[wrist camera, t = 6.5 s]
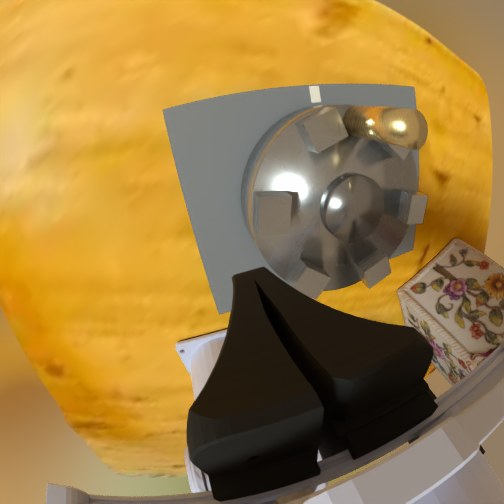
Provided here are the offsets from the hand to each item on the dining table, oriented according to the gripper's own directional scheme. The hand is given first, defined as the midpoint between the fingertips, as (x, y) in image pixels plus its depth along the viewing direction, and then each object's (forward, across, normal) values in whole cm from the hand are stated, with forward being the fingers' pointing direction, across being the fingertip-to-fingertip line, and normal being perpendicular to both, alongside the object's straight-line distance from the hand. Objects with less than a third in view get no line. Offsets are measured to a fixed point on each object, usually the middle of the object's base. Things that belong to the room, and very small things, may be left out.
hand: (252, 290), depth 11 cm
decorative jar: (+11, -25, +17) cm, 32 cm away
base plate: (+10, -8, 0) cm, 13 cm away
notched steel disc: (+9, -8, 0) cm, 12 cm away
